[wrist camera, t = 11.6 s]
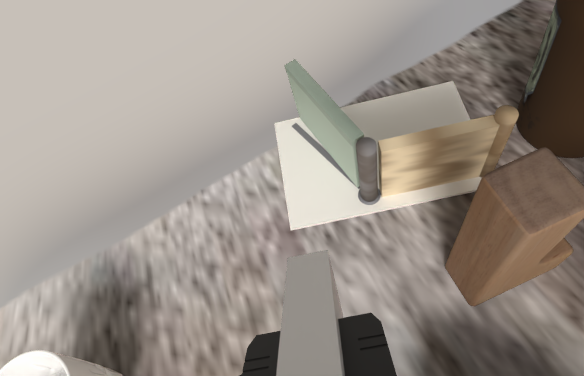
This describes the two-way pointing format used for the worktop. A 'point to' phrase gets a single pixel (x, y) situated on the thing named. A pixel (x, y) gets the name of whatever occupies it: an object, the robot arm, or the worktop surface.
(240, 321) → the worktop surface
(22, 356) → the white cup
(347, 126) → the hinged fence section
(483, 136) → the fixed fence section
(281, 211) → the worktop surface
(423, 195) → the card
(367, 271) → the worktop surface
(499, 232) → the wooden block
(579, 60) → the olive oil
